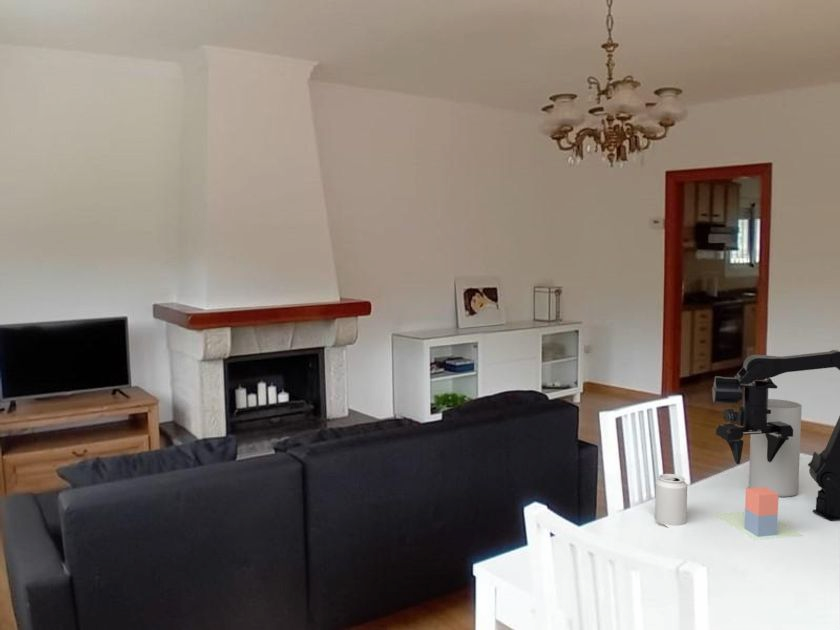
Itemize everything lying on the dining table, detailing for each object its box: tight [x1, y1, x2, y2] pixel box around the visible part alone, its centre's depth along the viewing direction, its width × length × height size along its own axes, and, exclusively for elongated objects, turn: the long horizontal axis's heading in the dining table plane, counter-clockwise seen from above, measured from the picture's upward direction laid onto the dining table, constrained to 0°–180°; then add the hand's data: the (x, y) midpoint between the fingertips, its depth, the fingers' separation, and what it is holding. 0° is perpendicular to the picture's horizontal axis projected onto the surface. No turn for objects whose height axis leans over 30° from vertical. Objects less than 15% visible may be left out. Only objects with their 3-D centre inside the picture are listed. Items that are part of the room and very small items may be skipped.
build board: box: [714, 511, 805, 541], centre depth 171 cm, size 13×16×1 cm
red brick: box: [744, 487, 779, 516], centre depth 166 cm, size 5×5×5 cm
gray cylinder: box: [748, 398, 803, 498], centre depth 197 cm, size 12×12×25 cm
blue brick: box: [744, 508, 779, 537], centre depth 166 cm, size 5×5×5 cm
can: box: [654, 473, 688, 529], centre depth 174 cm, size 8×8×12 cm
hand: (753, 462), depth 183 cm, fingers open, 9 cm apart
